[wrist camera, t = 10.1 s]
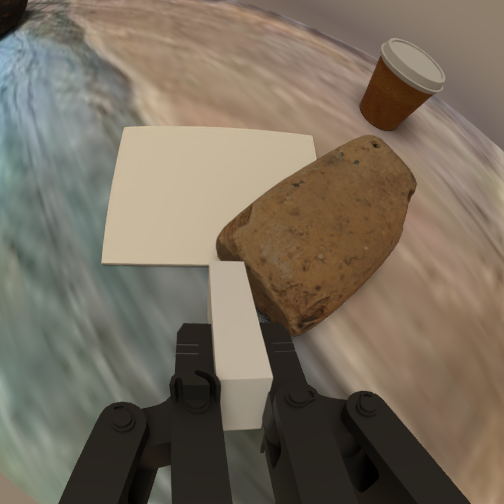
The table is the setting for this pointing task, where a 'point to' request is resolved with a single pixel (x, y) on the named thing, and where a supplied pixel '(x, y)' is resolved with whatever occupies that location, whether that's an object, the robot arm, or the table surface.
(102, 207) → the table surface
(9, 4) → the glass bottle
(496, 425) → the table surface
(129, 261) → the mat
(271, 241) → the block
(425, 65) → the disposable coffee cup
